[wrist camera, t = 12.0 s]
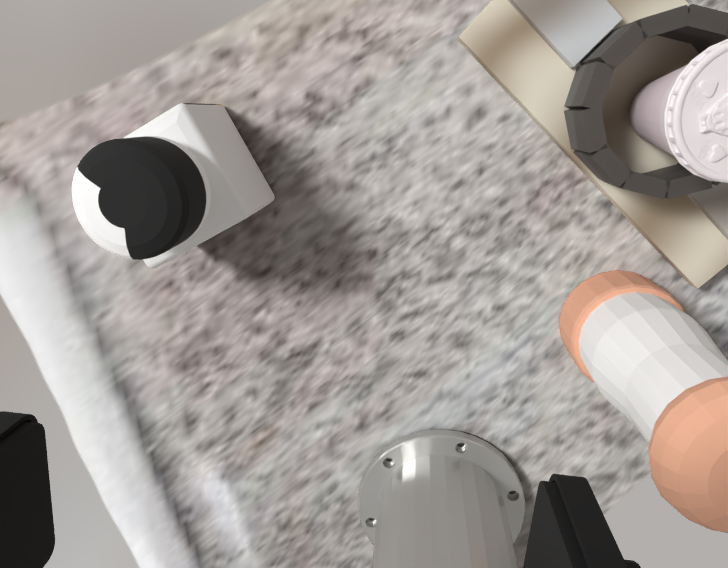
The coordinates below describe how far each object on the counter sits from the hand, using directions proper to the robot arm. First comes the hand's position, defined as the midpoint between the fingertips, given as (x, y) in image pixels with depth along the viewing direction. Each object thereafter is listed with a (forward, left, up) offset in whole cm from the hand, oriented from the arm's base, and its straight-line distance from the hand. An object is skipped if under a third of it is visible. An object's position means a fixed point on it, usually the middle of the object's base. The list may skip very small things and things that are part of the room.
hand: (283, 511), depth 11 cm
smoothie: (+11, -15, -29) cm, 34 cm away
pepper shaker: (-3, -17, -31) cm, 35 cm away
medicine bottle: (0, +12, -31) cm, 33 cm away
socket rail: (+11, -14, -30) cm, 35 cm away
